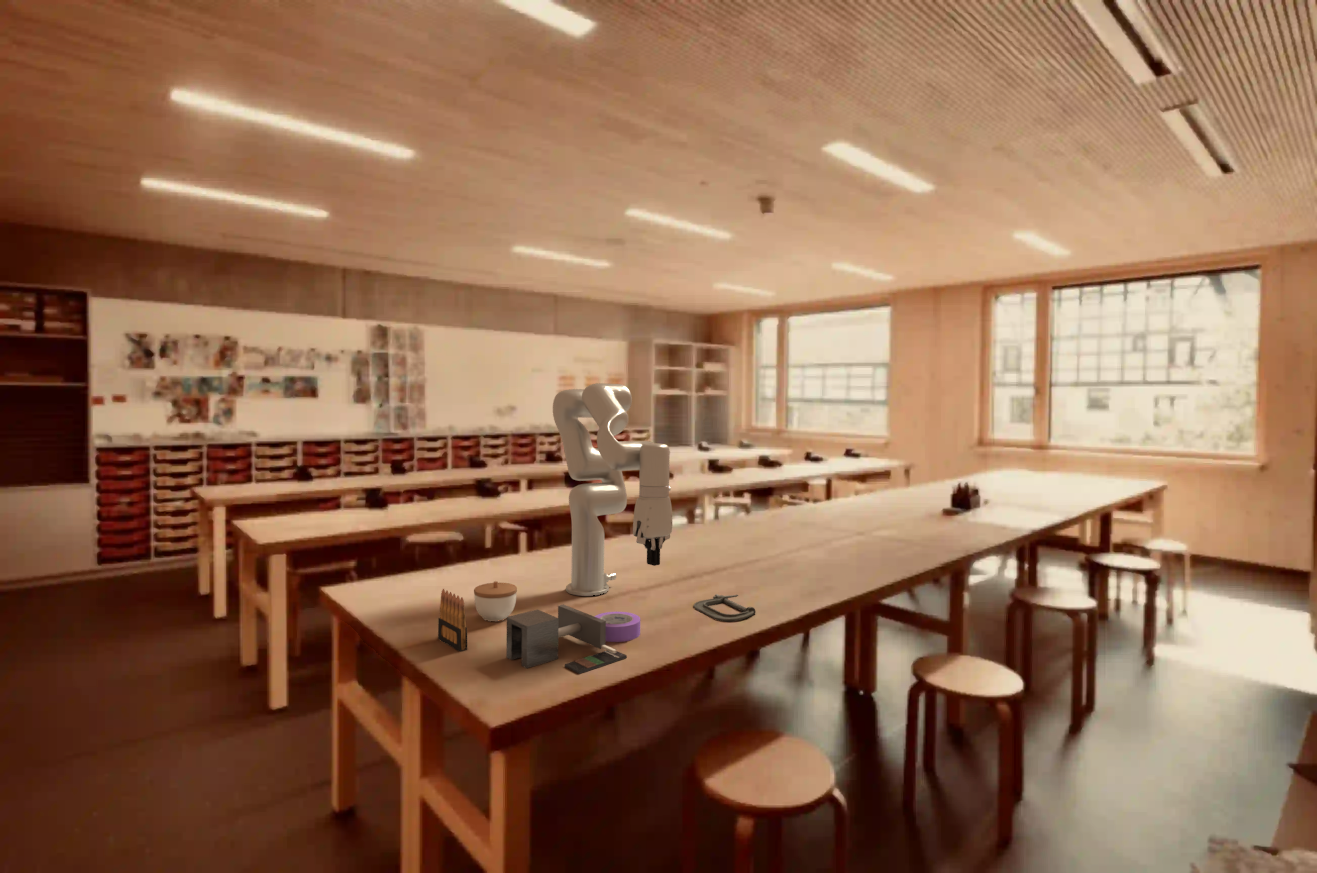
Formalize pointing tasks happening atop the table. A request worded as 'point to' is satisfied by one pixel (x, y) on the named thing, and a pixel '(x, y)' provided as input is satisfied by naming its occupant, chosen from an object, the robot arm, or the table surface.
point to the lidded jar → (495, 600)
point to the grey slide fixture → (546, 643)
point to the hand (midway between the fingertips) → (653, 564)
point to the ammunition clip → (452, 621)
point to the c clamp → (717, 599)
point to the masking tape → (620, 626)
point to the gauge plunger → (582, 627)
